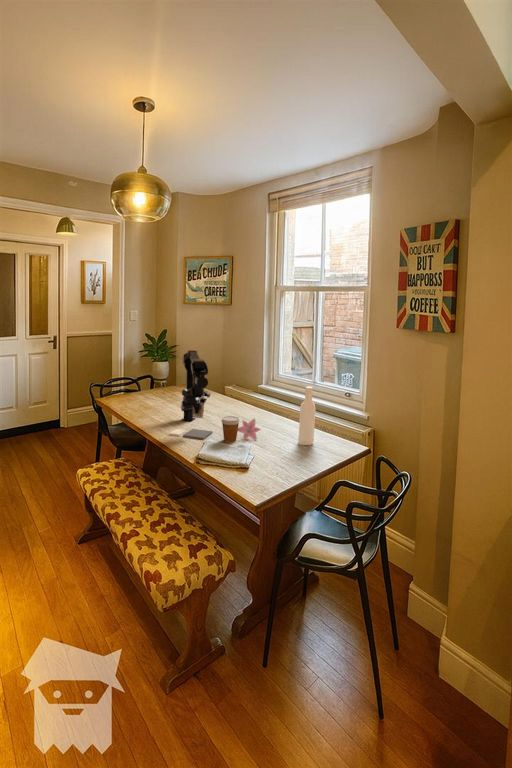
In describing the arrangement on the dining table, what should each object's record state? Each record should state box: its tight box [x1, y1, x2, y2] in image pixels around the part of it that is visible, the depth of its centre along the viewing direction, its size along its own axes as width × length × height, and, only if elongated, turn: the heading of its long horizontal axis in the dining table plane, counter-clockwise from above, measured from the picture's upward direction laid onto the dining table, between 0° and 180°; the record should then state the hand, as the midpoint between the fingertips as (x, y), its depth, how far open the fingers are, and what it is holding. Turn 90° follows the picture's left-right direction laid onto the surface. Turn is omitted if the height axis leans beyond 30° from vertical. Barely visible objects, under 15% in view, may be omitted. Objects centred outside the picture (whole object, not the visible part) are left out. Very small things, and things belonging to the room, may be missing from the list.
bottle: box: [297, 386, 317, 446], centre depth 218 cm, size 8×8×30 cm
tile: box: [169, 428, 188, 437], centre depth 229 cm, size 2×6×8 cm
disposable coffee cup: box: [221, 415, 241, 443], centre depth 219 cm, size 10×10×12 cm
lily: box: [238, 418, 261, 441], centre depth 226 cm, size 12×12×10 cm
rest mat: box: [182, 428, 214, 440], centre depth 227 cm, size 12×12×1 cm
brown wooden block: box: [193, 403, 205, 419], centre depth 225 cm, size 3×5×8 cm, turn 74°
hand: (198, 412), depth 225 cm, fingers closed on brown wooden block, 3 cm apart
